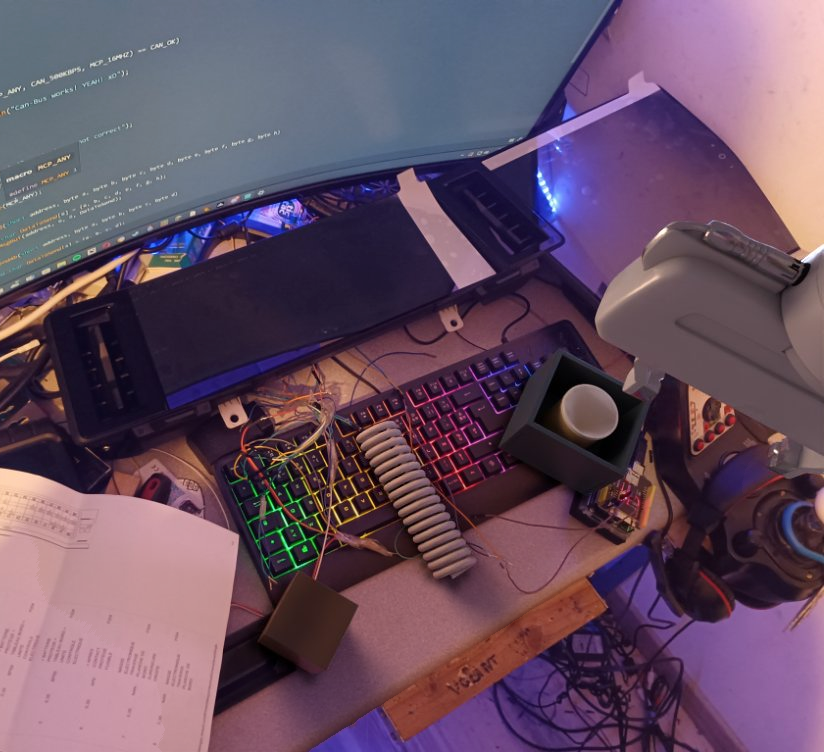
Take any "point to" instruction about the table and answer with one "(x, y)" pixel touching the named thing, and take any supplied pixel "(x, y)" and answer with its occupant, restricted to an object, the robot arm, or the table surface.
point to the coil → (416, 501)
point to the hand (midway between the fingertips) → (705, 425)
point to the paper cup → (582, 416)
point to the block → (308, 624)
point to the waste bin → (558, 454)
